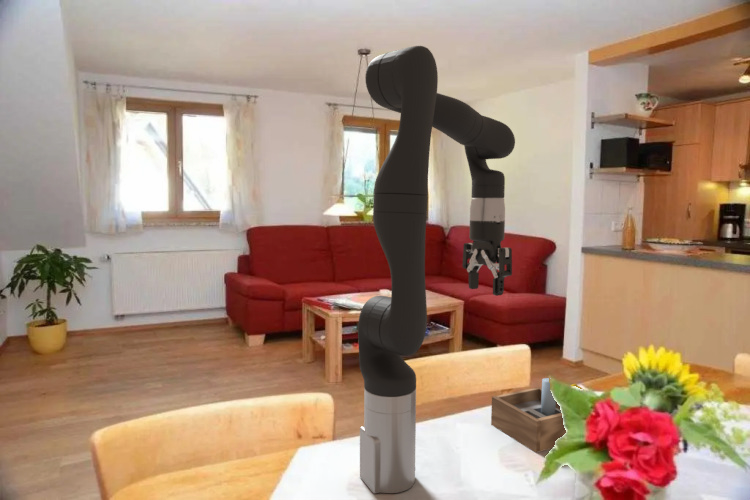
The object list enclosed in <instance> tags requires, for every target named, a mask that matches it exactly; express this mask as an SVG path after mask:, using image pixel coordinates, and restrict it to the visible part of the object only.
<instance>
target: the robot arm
mask: <svg viewBox="0 0 750 500" xmlns="http://www.w3.org/2000/svg"><path fill="white" fill-rule="evenodd" d="M438 77H439V76H438V65H437V62H436V59H435V56H434V55H433V53H432V51H431V50H430V49H429V48H427V47H426V46H425V45H424V46H423V45H413V46H410V47H409V46H407V47H405V48H400V49H398V50H394V51H389V52H385V53H383V54H380V55H378V56H376V57H374V58H373V59H372V60H371V61H370V62H369V63H368V65H367V67H366V71H365V87H366V89H367V93H368V94H369V95H370V98H371V99H372V100H373V101H374V103H376V104H377V105H378V106H380V107H382V108H385V109H387V110H391V112H392V111H393V112H394V113H398V114H400V120H399V127H398V129H397V134H396V137H395V139H394V142H393V144H392V146H391V149H390V150H389V153H388V154H387V155H386V157H385V160H384V161H383V163H382V165H381V167H380V169H379V171H378V174H377V176H376V179H375V181H374V187H373V204H372V205H373V206H372V207H373V210H372V215H373V216H372V221H373V227H374V230H375V233H376V236H377V238H378V241H379V244H380V246H381V248H382V251H383V254H384V255H385V256H384V257H385V258H386V261H387V264H388V268H389V271H390V281H391V282H390V283H391V296H384V295H376V296H373V297H371V298H369V299H368V300H367V301H365V303H364V304H363V306H362V309H361V311H360V313H359V317H358V324H357V326H358V327H357V339H358V340H357V341H358V360H359V369H360V372H361V375H362V377H363V384H364V385H363V387H364V388H363V391H364V393H363V396H364V397H363V398H364V401H363V403H364V404H363V409H364V411H363V412H364V413H363V415H364V416H363V420H364V421H363V425H362V426H360V428H359V478H360V479H361V480H362V481H363V482H364V483H365V485H366V486H367V487H368V488H369V489H370V491H371V492H372V493H373V494H377V493H379V494H380V493H382V494H383V493H384V494H399V493H402V492H405V491H407V490H409V489H411V488H412V487H413V486H414V484H415V482H416V433H417V431H416V430H417V429H416V428H417V427H416V425H417V424H416V420H417V417H416V416H417V415H416V414H417V375H416V372H415V370H414V369H413V368H412V367H411V366H410V365H409V364H408V363H407V362H406V361H405V360H404V358H403V356H405V357H407V356H408V357H409V356H412V355H414V354H415V353H417V352H418V351H419V350H420V348H421V346H423V343H424V341H425V338H426V337H425V336H426V333H427V326H428V325H427V324H428V309H427V307H428V306H427V290H426V289H427V288H426V287H427V286H426V232H427V231H426V229H427V216H428V202H429V201H428V198H429V167H430V166H429V165H430V151H431V138H432V132H433V131H432V130H433V128H434V129H435V130H438V131H440V132H441V133H442V134H444V135H446V136H447V137H449V138H451V139H452V140H454V141H455V142H457V143H458V144H460V145H462V146H464V152H465V156H466V159H467V163H468V168H469V172H470V173H469V174H470V176H471V201H470V207H469V233H468V235H469V239H470V241H473V242H465V243H463V250H462V269H465V270H466V272H467V273H468V289H471V290H477V289H479V279H480V278H479V275H480V273H479V270H480V268H482V266H487V268H488V269H489V270H490V271H491V273H492V275H493V277H494V278H492V295H493V296H495V297H496V296H503V294H504V290H505V286H504V285H505V278H506V277H510V276H512V275H513V259H512V257H513V251H512V250H513V249H512V248H511V247H502V244H501V243H502V241H504V240H505V233H506V232H505V230H506V229H505V228H506V223H505V222H506V206H505V205H506V203H505V185H506V184H505V183H506V182H505V181H506V177H505V174H504V172H502V171H500V170H496V169H491V168H489V166H488V163H487V160H495V159H496V160H497V159H498V160H499V159H504V158H507V157H508V156H510V155H511V154H512V152H513V151H514V149H515V144H516V137H515V135H514V132H513V131H512V129H511V127H509V126H508V125H507V124H506V123H504V122H502V121H500V120H496V119H493V118H492V117H488V116H486V115H482V114H481V113H480V112H478V111H477V110H475V109H474V108H473V107H472V106H470V105H469V104H468V103H466V102H464V101H463V100H461V99H458V98H455V97H452V96H448V95H445V94H442V93H439V92H438V84H439V83H438V81H439V78H438ZM468 259H469V262H468ZM505 266H506V268H505Z"/></svg>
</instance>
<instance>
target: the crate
mask: <svg viewBox="0 0 750 500" xmlns="http://www.w3.org/2000/svg"><path fill="white" fill-rule="evenodd" d="M541 397H542V386H537V387H533V388H526V389H522V390H518V391H512V392H507V393H504V394H499V395H494V396H491V412H490V413H491V417H490V419H491V420H490V425H491V426H493V427H494V428H496V429H498V430H499V431H501V432H502V433H504V434H505V435H507V436H509V437H510V438H512V439H514V440H515V441H516V442H518V443H519V444H522V445H523V446H525V447H526V448H528V449H530V450H531V451H533V452H534V453H536V454H537V453H540V452H544V451H547V450H550V449H553V448H552V447H554V445H555V441H556V440H557V439H558V438H560V437H562V436H563V435H564V434H565V433H566V430H565V428H564V425H563V418H562V413H561V410H560V406H559V405H558V404H557V402H556V408H555V414H554V415H550V416H545V415H543V414H541Z"/></svg>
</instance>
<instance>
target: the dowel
mask: <svg viewBox="0 0 750 500" xmlns="http://www.w3.org/2000/svg"><path fill="white" fill-rule="evenodd" d="M549 378H550V377H544V378H542V379H541V388H542V397H541V414H543V415H545V416H550V415H554V414H555V408H556V401H555V400H554V398H553V396H552V393H551V391H550V383H549Z"/></svg>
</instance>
